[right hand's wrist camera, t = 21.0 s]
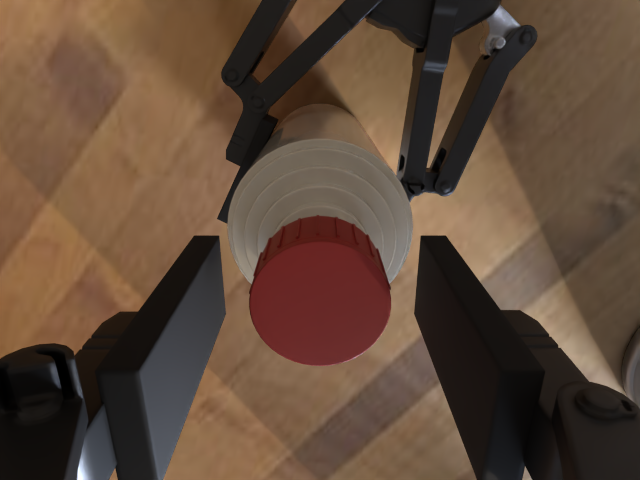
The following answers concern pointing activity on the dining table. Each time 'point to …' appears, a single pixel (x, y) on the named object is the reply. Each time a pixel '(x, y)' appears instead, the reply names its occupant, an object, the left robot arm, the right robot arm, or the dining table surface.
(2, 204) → the dining table surface
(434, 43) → the left robot arm
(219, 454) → the dining table surface
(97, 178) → the dining table surface
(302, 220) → the cap
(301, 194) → the bottle
